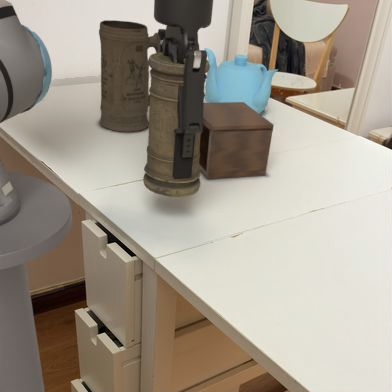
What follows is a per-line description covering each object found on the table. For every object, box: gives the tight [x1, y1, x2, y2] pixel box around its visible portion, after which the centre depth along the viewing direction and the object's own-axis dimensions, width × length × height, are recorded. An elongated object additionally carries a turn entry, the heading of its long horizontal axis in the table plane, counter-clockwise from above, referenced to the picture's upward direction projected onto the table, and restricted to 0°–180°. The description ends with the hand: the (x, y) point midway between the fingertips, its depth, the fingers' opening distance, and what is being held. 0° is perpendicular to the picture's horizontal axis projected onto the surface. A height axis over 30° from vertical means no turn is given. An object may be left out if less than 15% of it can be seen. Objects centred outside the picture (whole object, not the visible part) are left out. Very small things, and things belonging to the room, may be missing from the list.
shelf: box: [198, 102, 275, 180], centre depth 103 cm, size 12×14×10 cm
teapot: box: [203, 47, 279, 115], centre depth 131 cm, size 17×19×12 cm
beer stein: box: [98, 19, 158, 133], centre depth 114 cm, size 15×11×20 cm
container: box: [142, 52, 210, 198], centre depth 78 cm, size 9×9×18 cm
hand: (173, 164), depth 81 cm, fingers closed on container, 8 cm apart
